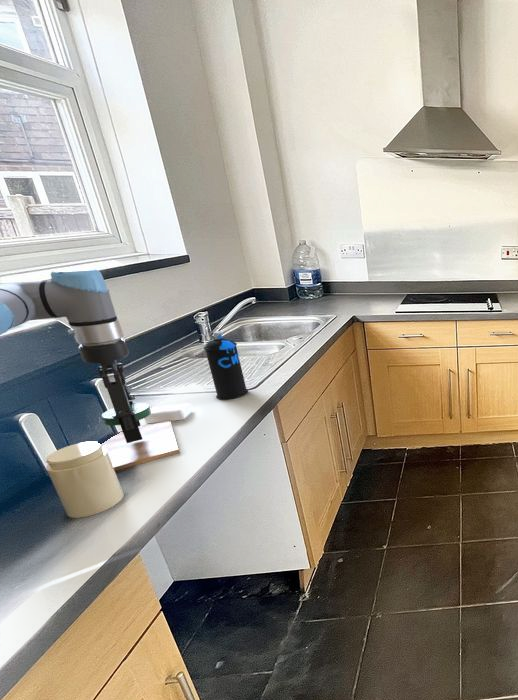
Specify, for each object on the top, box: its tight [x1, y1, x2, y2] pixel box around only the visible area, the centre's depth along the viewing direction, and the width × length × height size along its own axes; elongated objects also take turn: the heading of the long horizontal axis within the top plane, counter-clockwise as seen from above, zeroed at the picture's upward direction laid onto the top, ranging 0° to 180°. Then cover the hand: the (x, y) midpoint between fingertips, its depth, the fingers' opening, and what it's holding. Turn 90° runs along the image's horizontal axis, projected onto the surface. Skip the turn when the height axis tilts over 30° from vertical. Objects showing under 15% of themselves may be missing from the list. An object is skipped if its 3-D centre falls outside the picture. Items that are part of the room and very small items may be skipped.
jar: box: [45, 441, 125, 519], centre depth 77 cm, size 8×8×12 cm
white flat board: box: [101, 420, 181, 472], centre depth 99 cm, size 20×14×1 cm
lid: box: [101, 402, 151, 426], centre depth 96 cm, size 8×8×2 cm
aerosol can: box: [203, 330, 249, 401], centre depth 125 cm, size 8×8×20 cm
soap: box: [143, 402, 192, 424], centre depth 113 cm, size 9×6×3 cm, turn 107°
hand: (133, 433), depth 98 cm, fingers closed on lid, 8 cm apart
